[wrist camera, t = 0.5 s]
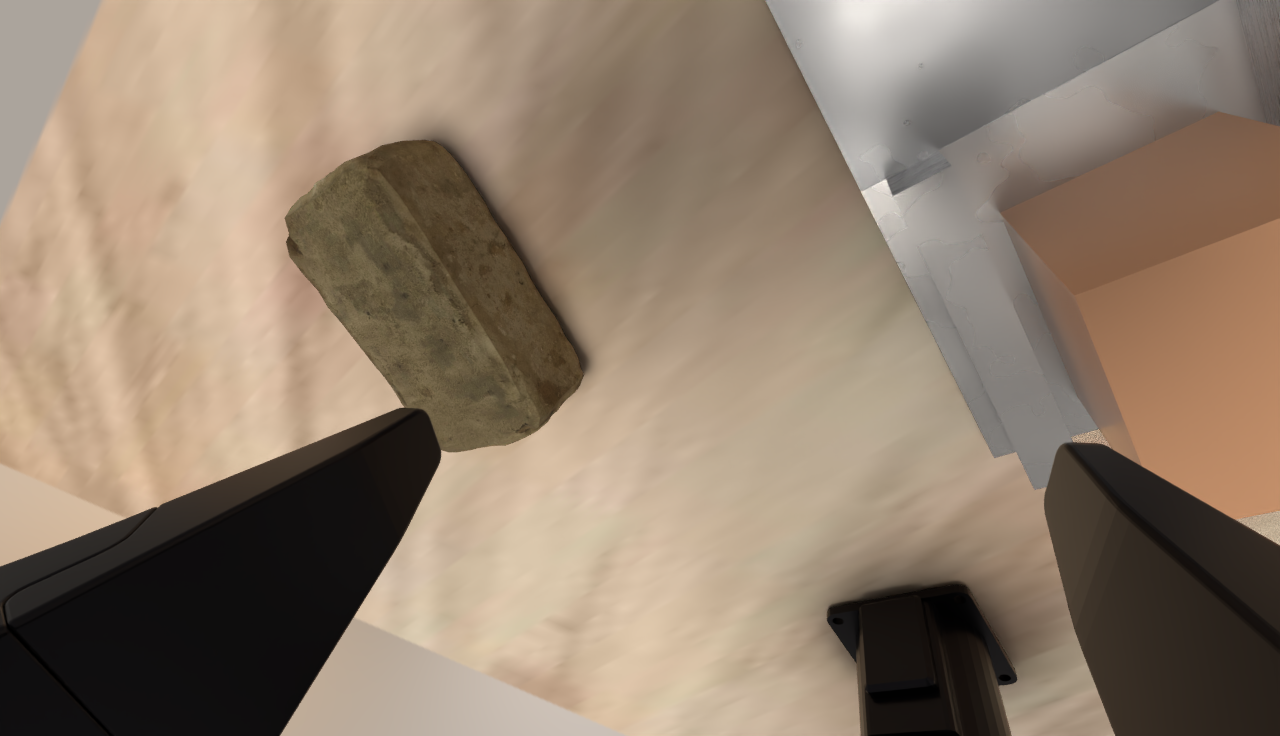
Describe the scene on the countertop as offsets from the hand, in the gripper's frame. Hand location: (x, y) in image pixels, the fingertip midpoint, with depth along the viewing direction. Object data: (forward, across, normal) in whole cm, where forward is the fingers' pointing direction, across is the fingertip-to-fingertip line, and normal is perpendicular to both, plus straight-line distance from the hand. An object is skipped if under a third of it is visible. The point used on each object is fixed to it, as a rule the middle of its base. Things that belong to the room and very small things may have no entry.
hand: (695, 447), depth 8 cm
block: (+12, -10, +2) cm, 16 cm away
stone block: (+14, +12, +2) cm, 18 cm away
